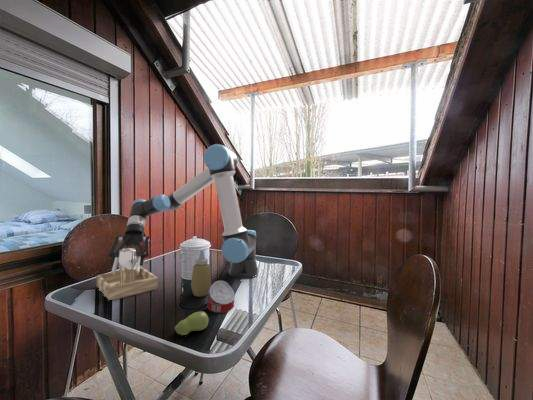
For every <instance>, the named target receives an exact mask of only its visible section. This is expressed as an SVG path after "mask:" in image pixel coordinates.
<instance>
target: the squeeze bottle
mask: <svg viewBox="0 0 533 400" xmlns="http://www.w3.org/2000/svg"><path fill="white" fill-rule="evenodd" d="M208 261H209V260H208V258H206V256H205V250H203V249H202V250H200V252H199V257H198V258H197V259H195V264H194V265H193V266H192V274H191V280H190V281H191V282H190V288H191V291H192V294H193V296H194V297H198V298H199V297H205V296H207V295H209V290H210V287H211V285H212V280H211V279H212V277H211V265H210V264H209V262H208Z"/></svg>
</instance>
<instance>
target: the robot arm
mask: <svg viewBox="0 0 533 400" xmlns="http://www.w3.org/2000/svg"><path fill="white" fill-rule="evenodd" d="M203 163H204V165H205V166H206V168H205V169H204V170H202V171H201V172H199V173H198V174H197V175H195V176H194V177H193V178H191V179H190V180H188V182H186V183H184V184H182V186H181V187H179V188H178V189H176V190H175V191H173V192H172V193H171V194H170V195H168V196H167V195H166V194H160V195H157V196H154V197H152V198H149V199H143V198H140V199H139V198H137V199H135V200H134V201H133V202H132V205H131V206H130V211H129V215H128V220H127V223H126V227H125V230H124V235H123V236H120V237H119V236H118V235H117V236H115V239H114V243H113V245H112V246H111V248H110V250H109V251H108V258H109V260H111V262H110V266H111V267H112V268H111V273H112V274H113V275H115V273H116V272H117V269H118V266H119V265H118V257H119V250H121V249H125V248H129V247H131V246H134V247H137V248H136V249H137V251H138V253H139V255H140V256H138V257H137V265H136V272H137V274H139V270H140V267H143V265H144V263H145V259H149V258H150V249H149V247H150V245H149V244H150V241H151V239H150V236H144V232H145V227H146V223H147V218H148V217H150V216H152V215H155V214H159V213H164V212H172V211H173V212H174V211H177V210H179V209H180V208H181V206H182V205H183V204H184V203H186V202H187V201H189V199H191V198H192V197H194V196H196V194H198V193H200V192H201V191H203V189H206V188H207V187H208V186H209V185H211V184H213V183H215V188H216V195H217V199H218V204H219V208H220V209H219V211H220V213H221V218H222V224H223V229H224V231H223V232H222V234H221V235H222V242H223V243H222V244H221V254H222V256H223V258H224V259H225V260H226V261H227V262H229V263H230V266H229V268H228V275H229V276H230V277H232V278H234V279H235V278H236V279H251V278H250V277H253V276H255V275H257V274H258V275H259V268H258V265H257V260H256V250H257V248H256V246H257V232H256V230H252V229H247V228H246V227H244V225H243V222H242V216H241V215H242V214H241V209H240V205H239V200H238V196H237V190H236V185H235V180H234V176H235V174H236V167H237V166H238V157H237V155H236V153H235V152H234V151H233V150H232V149H230V148H228V147H226V146H225V145H223V144H220V143H219V144H218V143H215V144H212V145H210V146H209V147H207V148H206V150H205V151H204V153H203ZM122 241H123V242H122ZM142 241H143V242H144V248H145V249H144V250H145V253H144V252H143V249H142V245H141V242H142ZM121 242H122V244H121V245H120V243H121ZM119 246H120V247H119ZM258 275H257V276H258ZM255 277H256V276H255ZM253 278H254V277H253Z"/></svg>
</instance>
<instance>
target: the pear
mask: <svg viewBox="0 0 533 400" xmlns="http://www.w3.org/2000/svg"><path fill="white" fill-rule="evenodd" d="M208 325H209V316H208V314H207V313H206V312H205V311H202V310H201V311H196V312H193V313H192V314H190V315H188V316H187V317H186V318H185V319H182V320H180V321H179V322H177V324H176V325H175V326H174V330H175V332H176V333H177V335H178V334H181V335H187V334H188V335H189V334H190V333H191V332H194V331H195V332H199V331H203V330H205V329H206V328H207V327H208ZM188 335H187V336H188Z"/></svg>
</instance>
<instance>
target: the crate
mask: <svg viewBox="0 0 533 400" xmlns="http://www.w3.org/2000/svg"><path fill="white" fill-rule="evenodd" d="M119 283H120V271H119V270H118V271H117V270H116V273H115V275H113V274H112V272H108V273H107V272H106V273H101V274H97V275H96V288H97V287H98V288H99V289H98V288H97V289H98V291H99V292H100V291H101V292H102V293H103V294H104V295H103V294H102V293H101V292H100V293H101V294H102V295H103V297H106V298H107V299H108V300H107V299H106V298H105V299H106V300H107V301H108V302H110V301H109V300H112V301H115V300H119V299H123V298H127V297H131V296H135V295H138V294H143V293H146V292H147V293H149V292H151V291H154V290H156V291H157V290H158V287H159V285H158V284H159V277H158V276H157V275H155V274H153V273H152V272H150V271H149V270H148V269H146V268H144V267H143V266H140V270H139V274H137V272H136V270H135V282H130V283H125V284H121V285H119Z"/></svg>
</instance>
